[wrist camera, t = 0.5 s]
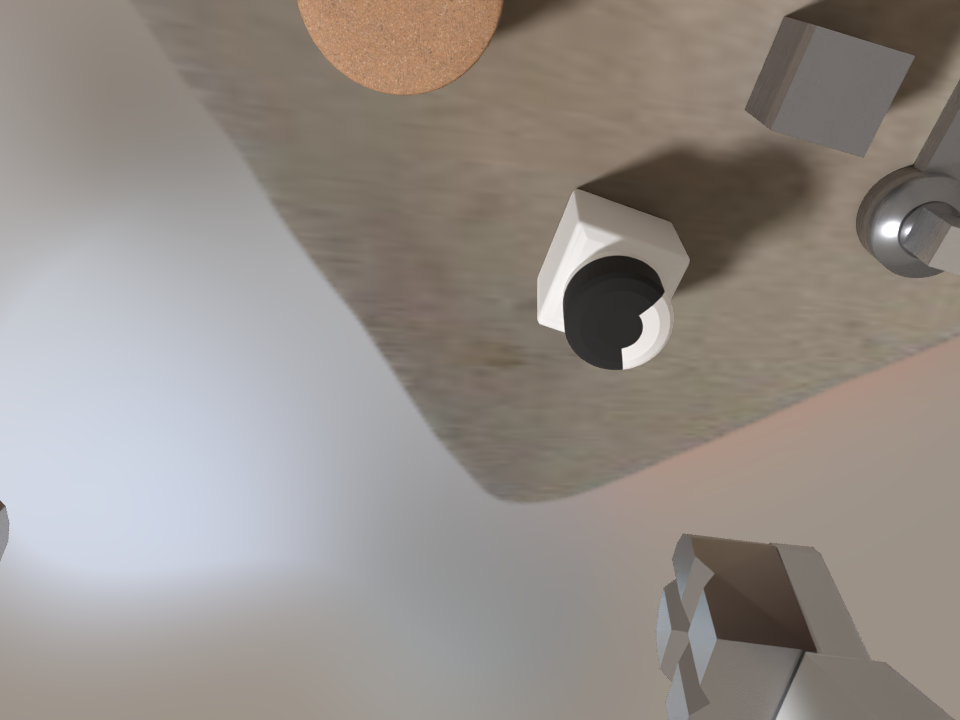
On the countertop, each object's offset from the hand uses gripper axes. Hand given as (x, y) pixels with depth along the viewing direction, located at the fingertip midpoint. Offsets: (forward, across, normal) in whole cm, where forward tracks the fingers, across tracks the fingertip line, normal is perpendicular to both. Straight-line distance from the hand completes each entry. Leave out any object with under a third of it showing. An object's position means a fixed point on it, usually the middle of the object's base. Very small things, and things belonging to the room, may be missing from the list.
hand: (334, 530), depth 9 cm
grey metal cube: (+43, -19, -1) cm, 47 cm away
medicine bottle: (+44, -9, +12) cm, 46 cm away
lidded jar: (+44, +5, -4) cm, 44 cm away
